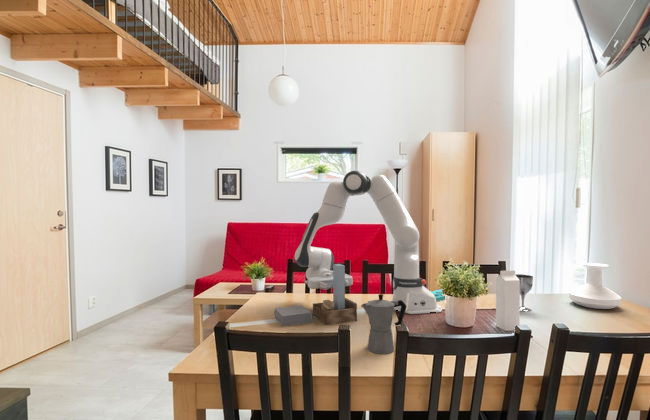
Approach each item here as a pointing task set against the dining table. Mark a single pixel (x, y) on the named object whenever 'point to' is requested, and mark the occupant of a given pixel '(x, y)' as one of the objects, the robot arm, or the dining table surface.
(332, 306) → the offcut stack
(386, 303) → the coffeepot
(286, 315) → the stand
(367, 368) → the dining table surface
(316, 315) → the brown wooden box
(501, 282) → the milk
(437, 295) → the alien figure
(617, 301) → the candle holder
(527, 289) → the wine glass
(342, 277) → the panel
